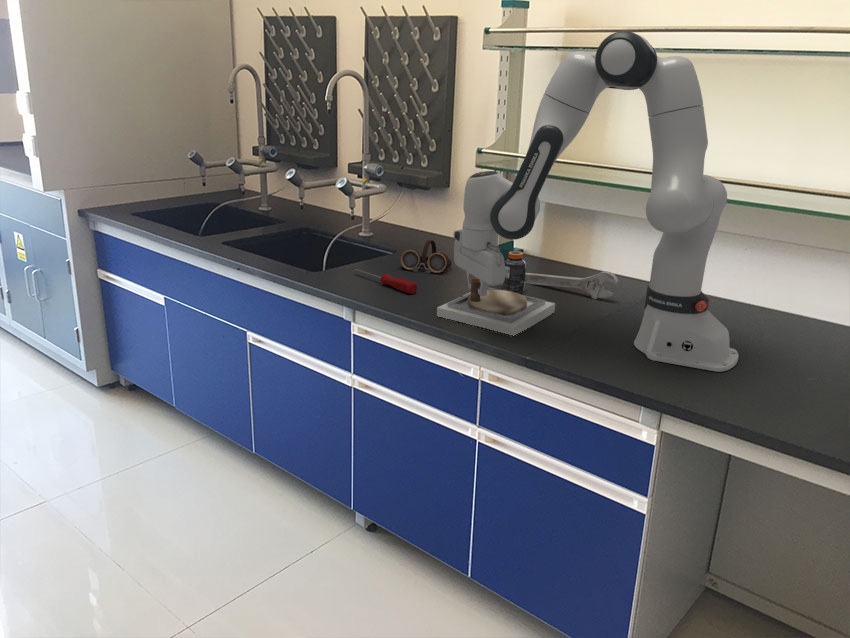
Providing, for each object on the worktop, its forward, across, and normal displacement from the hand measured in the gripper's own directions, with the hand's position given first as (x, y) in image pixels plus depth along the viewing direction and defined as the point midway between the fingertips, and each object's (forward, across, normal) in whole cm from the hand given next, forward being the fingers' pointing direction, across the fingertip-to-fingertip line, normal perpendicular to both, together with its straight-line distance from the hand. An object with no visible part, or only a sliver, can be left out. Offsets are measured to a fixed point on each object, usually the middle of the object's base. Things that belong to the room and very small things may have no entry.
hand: (477, 292), depth 179 cm
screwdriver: (+7, +34, +12) cm, 37 cm away
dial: (+4, 0, -6) cm, 7 cm away
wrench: (+7, +10, -34) cm, 36 cm away
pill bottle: (+7, +15, -20) cm, 26 cm away
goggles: (+7, +45, -7) cm, 46 cm away
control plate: (+6, 0, -6) cm, 9 cm away
